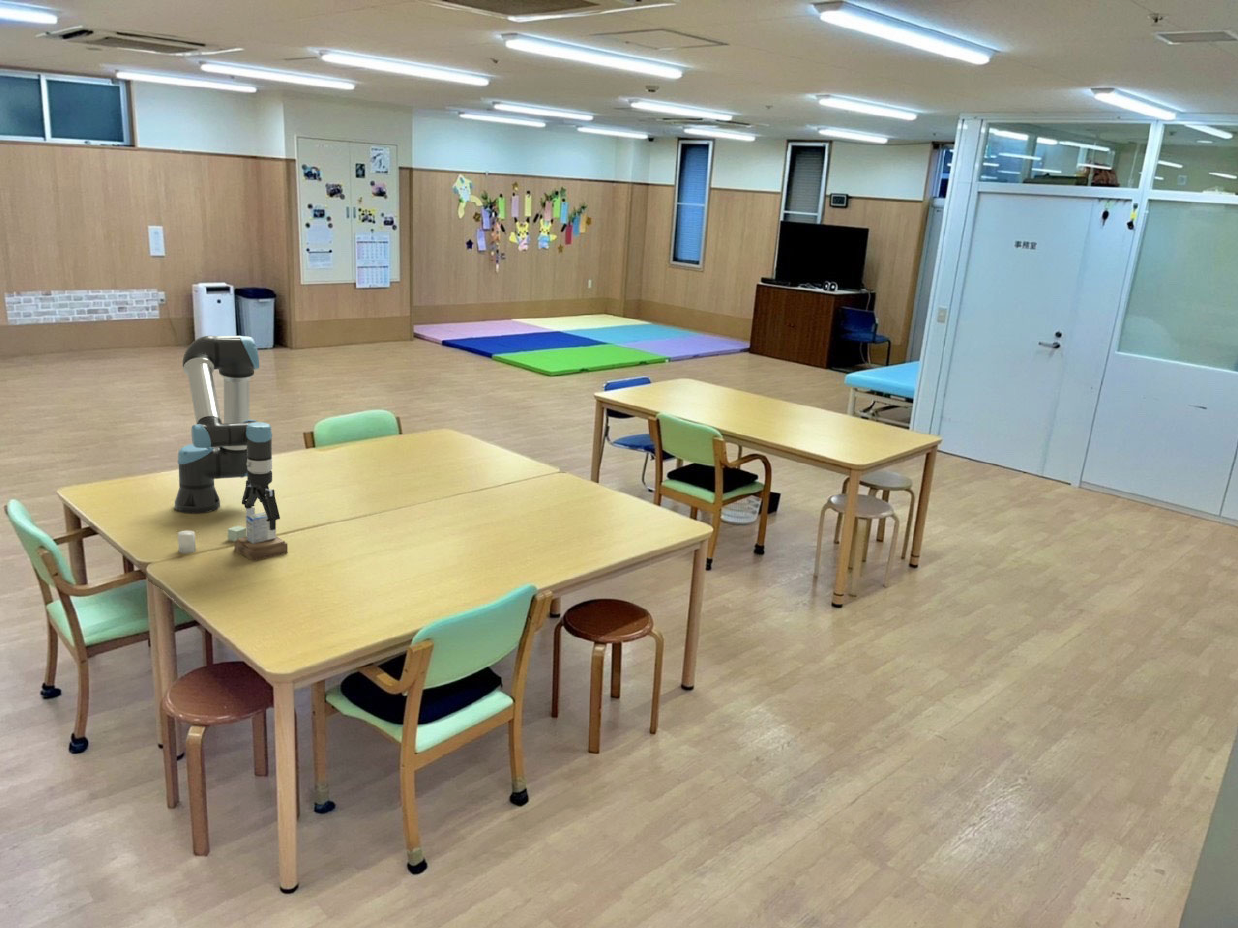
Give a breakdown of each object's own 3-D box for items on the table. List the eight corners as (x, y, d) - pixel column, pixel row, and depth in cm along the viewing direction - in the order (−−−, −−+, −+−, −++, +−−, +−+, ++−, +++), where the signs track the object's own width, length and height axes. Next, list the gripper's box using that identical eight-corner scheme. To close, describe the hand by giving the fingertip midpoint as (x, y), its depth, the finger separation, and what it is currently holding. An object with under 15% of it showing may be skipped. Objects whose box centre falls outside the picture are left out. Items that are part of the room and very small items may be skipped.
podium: (234, 549, 299) (234, 538, 298) (268, 541, 308) (268, 530, 307) (253, 560, 292) (253, 549, 290) (287, 552, 300) (287, 541, 299)
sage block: (228, 539, 306) (227, 528, 305) (237, 536, 310) (237, 525, 309) (236, 542, 305) (236, 531, 304) (246, 539, 308) (246, 528, 307)
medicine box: (268, 535, 303) (268, 510, 301) (275, 539, 300) (275, 514, 298) (246, 540, 297) (245, 515, 295) (253, 544, 294) (252, 519, 292)
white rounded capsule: (175, 549, 294) (175, 532, 293) (191, 546, 298) (190, 529, 296) (182, 554, 291) (182, 537, 290) (198, 551, 295) (197, 533, 293)
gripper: (229, 462, 297) (231, 523, 303) (268, 482, 282) (269, 546, 288) (251, 459, 302) (252, 519, 308) (290, 478, 287) (291, 541, 293)
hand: (260, 532), depth 298 cm, fingers open, 13 cm apart
